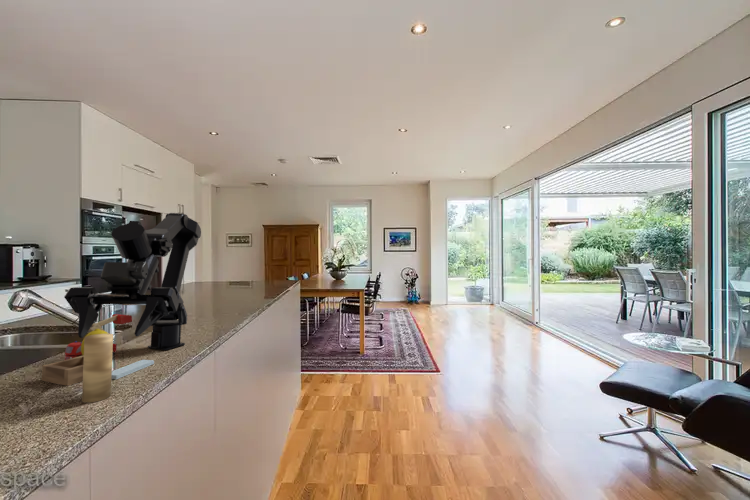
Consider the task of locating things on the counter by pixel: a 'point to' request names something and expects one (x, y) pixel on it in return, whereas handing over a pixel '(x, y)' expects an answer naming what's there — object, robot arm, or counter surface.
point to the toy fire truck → (75, 347)
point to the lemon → (96, 331)
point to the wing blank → (131, 368)
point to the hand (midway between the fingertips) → (108, 335)
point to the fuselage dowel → (97, 367)
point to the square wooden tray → (64, 371)
